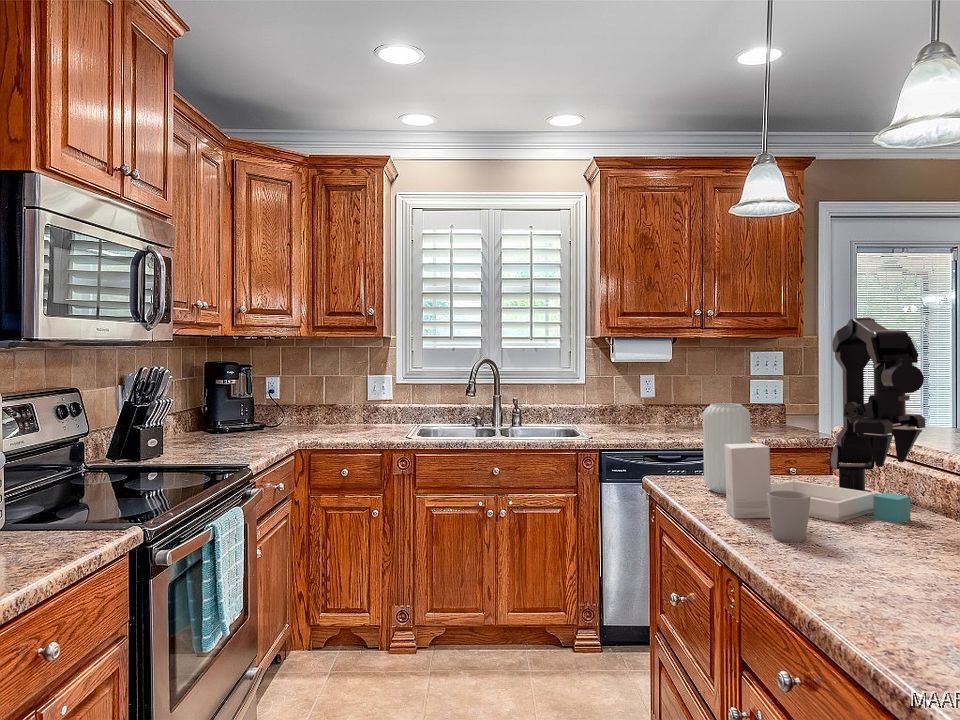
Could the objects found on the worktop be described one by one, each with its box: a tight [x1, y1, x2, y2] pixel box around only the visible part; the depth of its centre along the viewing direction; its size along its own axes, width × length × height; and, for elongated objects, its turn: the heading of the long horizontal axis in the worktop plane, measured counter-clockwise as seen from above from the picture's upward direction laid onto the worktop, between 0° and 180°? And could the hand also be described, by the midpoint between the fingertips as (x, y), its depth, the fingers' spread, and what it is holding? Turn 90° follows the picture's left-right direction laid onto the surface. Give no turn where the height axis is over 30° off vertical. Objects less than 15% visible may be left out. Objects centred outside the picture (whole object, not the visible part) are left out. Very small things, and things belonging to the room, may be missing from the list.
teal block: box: [873, 492, 911, 524], centre depth 144 cm, size 5×5×5 cm
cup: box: [767, 491, 810, 543], centre depth 132 cm, size 8×10×8 cm
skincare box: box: [725, 442, 771, 520], centre depth 150 cm, size 8×7×16 cm
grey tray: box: [771, 479, 877, 523], centre depth 155 cm, size 16×20×4 cm
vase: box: [702, 403, 752, 495], centre depth 176 cm, size 12×12×22 cm
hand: (890, 464), depth 144 cm, fingers open, 9 cm apart
